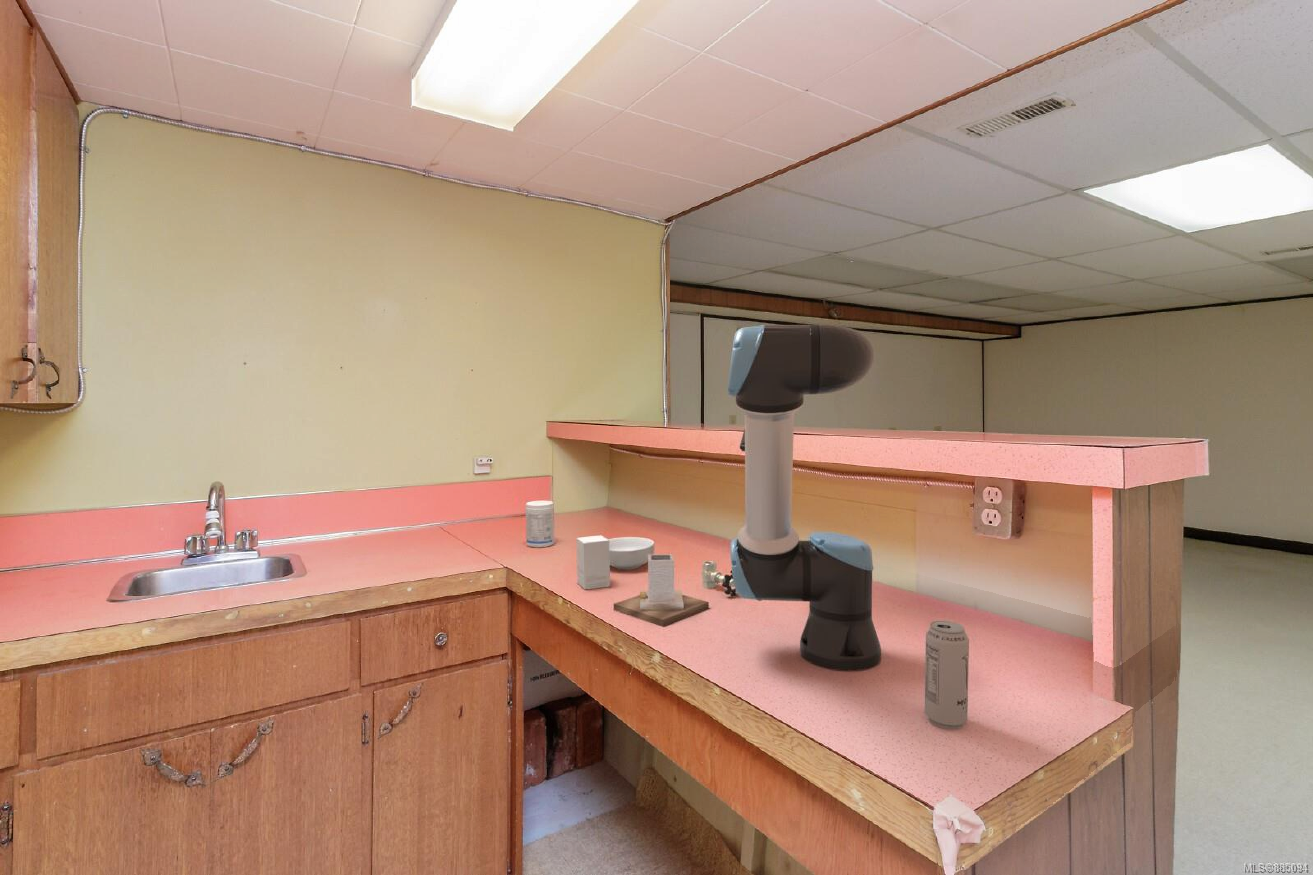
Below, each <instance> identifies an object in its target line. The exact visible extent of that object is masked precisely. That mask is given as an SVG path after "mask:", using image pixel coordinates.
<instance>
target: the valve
mask: <svg viewBox="0 0 1313 875" xmlns="http://www.w3.org/2000/svg"><path fill="white" fill-rule="evenodd" d="M701 567H702V571H701V579H702V582H701V583H702V584H701V585H702V588H705V589H715V588H717V584H718V585H719V584H720V583H721V586H722V587H723V588H726V590H724V594H725V595H727V596H728V595H730V596H731V597H736V595H737V592H736V589H735V586H734V581H733V575H732V569H731V570H730V571H729V572H730V575H729V574H725V575H723V574H722V572H720V571H717V562H716V561H713V560H705V561H703V562H702V563H701ZM732 587H734V588H732Z"/></svg>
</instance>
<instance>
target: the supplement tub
mask: <svg viewBox="0 0 1313 875" xmlns="http://www.w3.org/2000/svg"><path fill="white" fill-rule="evenodd" d="M525 525H526V526H525V529H526V530H525V532H526V533H525V534H526V545H527V546H528V547H530V548H539V549H540V548H548V547H551V546H553V545H554V544H555V507H554V502H553V501H551V500H533V501H532V500H531V501H528V502H526V503H525Z"/></svg>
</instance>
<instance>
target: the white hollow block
mask: <svg viewBox="0 0 1313 875" xmlns="http://www.w3.org/2000/svg"><path fill="white" fill-rule="evenodd" d="M647 572H648V573H647V579H648V581H647V582H648V583H647V584H648V585H647V586H648V590H640V591H639V593H640V592H646V599H640V610H684V603H683V598H682V595H683V594H682V590H681V589H675V560H674V554H672V553H664V554H662V553H660V554H659V553H657V554H648V562H647Z"/></svg>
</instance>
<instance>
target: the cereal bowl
mask: <svg viewBox="0 0 1313 875" xmlns="http://www.w3.org/2000/svg"><path fill="white" fill-rule="evenodd" d="M607 539H608V538H607ZM608 540H609V554H610V567H614V568H615V569H618V570H625V571H626V570H634V569H637V568H640V567H641V566H642V565H644V564H646V563H648V554H654V553H655V542H654V541H653V539H650V538H647V537H637V536H636V537H635V536H625V537H624V536H623V537H621V536H620V537H615V538H609V539H608Z"/></svg>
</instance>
